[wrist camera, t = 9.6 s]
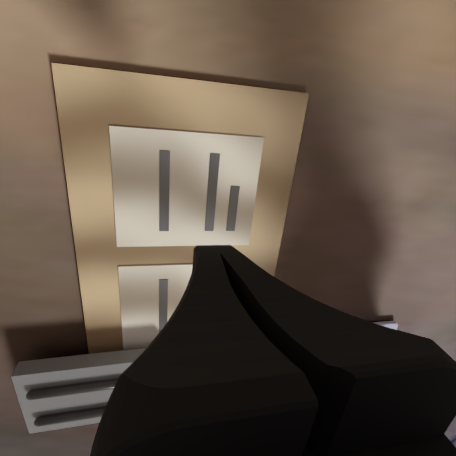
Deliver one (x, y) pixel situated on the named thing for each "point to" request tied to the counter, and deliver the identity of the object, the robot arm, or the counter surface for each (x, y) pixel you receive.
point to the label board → (167, 187)
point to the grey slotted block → (68, 388)
